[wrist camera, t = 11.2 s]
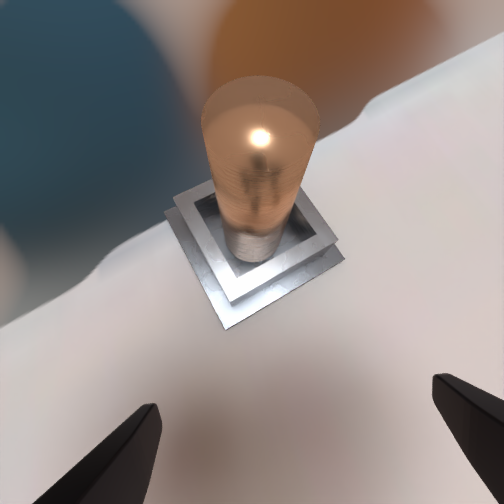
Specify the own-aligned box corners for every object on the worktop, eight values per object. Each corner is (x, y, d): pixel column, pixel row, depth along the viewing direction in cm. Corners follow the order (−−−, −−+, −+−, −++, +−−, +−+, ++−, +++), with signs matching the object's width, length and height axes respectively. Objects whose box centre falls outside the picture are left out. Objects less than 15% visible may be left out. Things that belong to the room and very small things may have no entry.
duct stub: (226, 329, 21) (222, 328, 17) (165, 214, 24) (150, 191, 20) (342, 260, 23) (362, 245, 19) (273, 163, 26) (278, 133, 22)
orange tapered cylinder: (258, 273, 22) (275, 191, 10) (213, 240, 23) (176, 127, 11) (291, 230, 23) (341, 111, 11) (247, 201, 24) (248, 59, 12)
